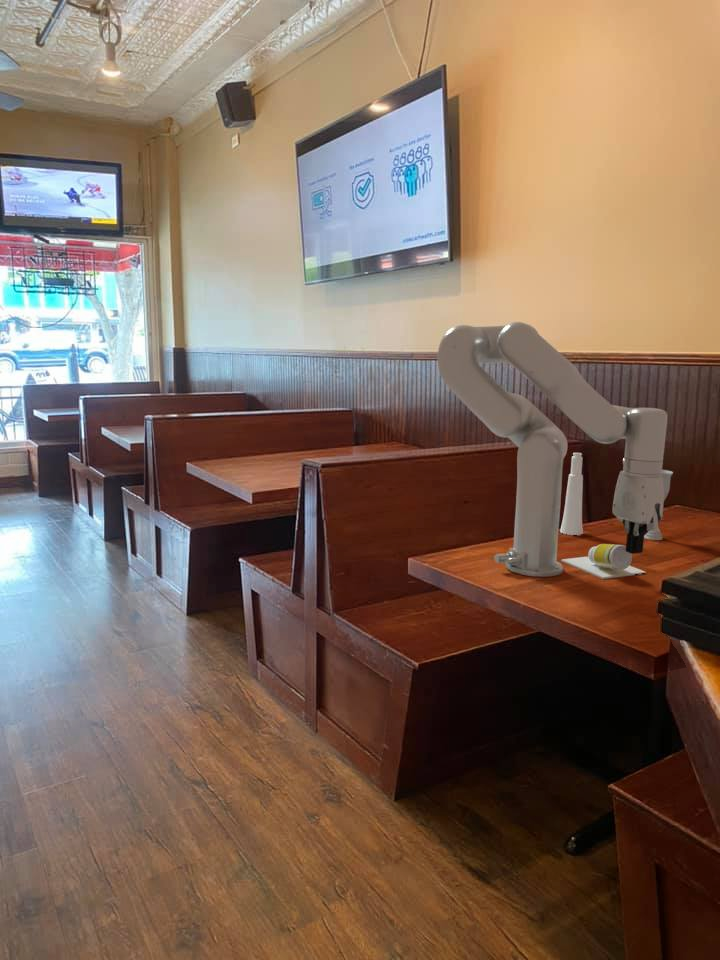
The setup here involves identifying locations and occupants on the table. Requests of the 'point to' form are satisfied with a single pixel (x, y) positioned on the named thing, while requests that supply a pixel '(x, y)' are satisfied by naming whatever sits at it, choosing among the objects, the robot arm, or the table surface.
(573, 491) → the cosmetic bottle
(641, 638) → the table surface
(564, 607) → the table surface
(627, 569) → the mat
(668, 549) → the table surface
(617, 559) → the supplement bottle
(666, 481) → the chalice
